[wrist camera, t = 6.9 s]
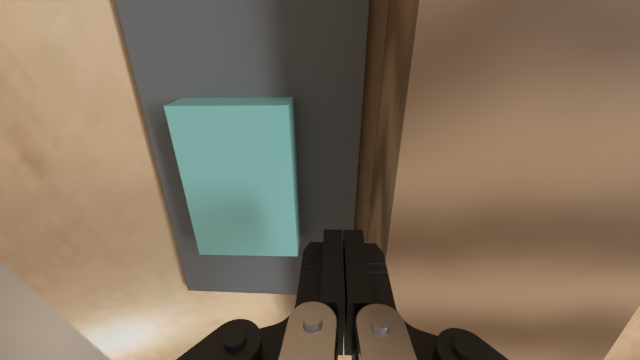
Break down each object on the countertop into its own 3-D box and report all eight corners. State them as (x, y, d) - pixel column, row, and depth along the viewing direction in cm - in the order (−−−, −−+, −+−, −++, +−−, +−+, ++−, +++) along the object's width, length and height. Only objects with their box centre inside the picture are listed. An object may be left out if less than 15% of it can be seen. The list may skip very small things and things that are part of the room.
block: (288, 105, 14) (293, 96, 16) (163, 105, 14) (182, 97, 16) (297, 256, 18) (301, 236, 20) (199, 254, 18) (211, 234, 20)
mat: (114, -32, 14) (106, -34, 14) (370, -32, 14) (371, -35, 13) (191, 284, 23) (188, 290, 23) (349, 290, 23) (349, 296, 22)
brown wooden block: (394, -59, 13) (435, -121, 8) (678, -61, 13) (924, -127, 7) (361, 300, 23) (369, 382, 18) (522, 306, 23) (581, 393, 17)
